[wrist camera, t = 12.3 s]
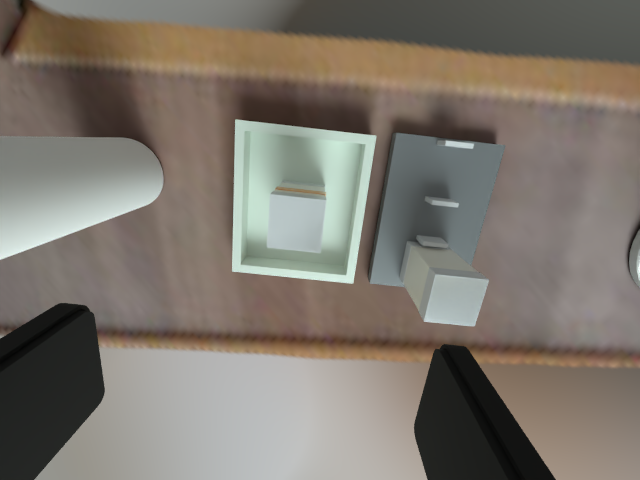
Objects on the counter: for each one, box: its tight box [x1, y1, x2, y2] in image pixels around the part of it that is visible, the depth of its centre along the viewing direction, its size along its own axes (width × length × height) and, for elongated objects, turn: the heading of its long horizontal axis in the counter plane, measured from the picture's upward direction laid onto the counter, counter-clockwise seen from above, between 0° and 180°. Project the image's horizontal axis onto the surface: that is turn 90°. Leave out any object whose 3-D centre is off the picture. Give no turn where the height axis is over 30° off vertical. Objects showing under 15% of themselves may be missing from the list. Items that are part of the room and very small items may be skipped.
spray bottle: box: [0, 136, 164, 260], centre depth 18 cm, size 7×7×25 cm
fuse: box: [399, 241, 489, 326], centre depth 27 cm, size 4×4×8 cm
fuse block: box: [368, 133, 505, 287], centre depth 30 cm, size 10×15×4 cm, turn 174°
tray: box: [232, 119, 376, 284], centre depth 29 cm, size 12×14×3 cm
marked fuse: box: [267, 180, 327, 253], centre depth 26 cm, size 4×4×8 cm
